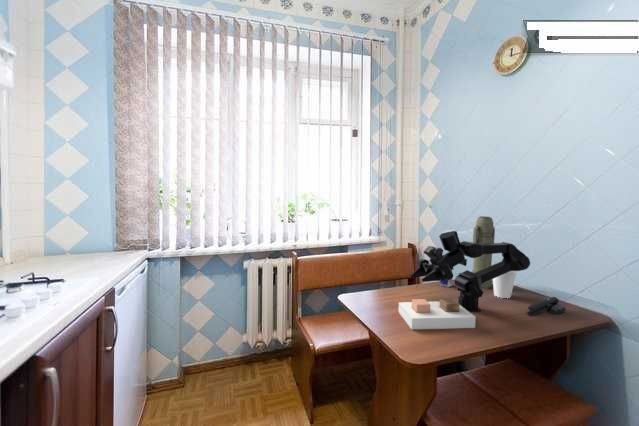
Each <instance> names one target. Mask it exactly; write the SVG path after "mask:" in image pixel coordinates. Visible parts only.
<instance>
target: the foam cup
mask: <svg viewBox="0 0 639 426" xmlns="http://www.w3.org/2000/svg"><path fill="white" fill-rule="evenodd" d="M517 272H518V271H510V272H507V273H505V274H503V275H500V276H498V277H496V278H494V279H492V286H493V288H492V289H493V295H494V297H496V296H497V298H499V297H500V298H499V299H503V298H507V300H508V298H509V299H510V297H511V296H512V293H513V288H514V285H515V279H516V276H517Z"/></svg>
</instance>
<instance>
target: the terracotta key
mask: <svg viewBox="0 0 639 426" xmlns="http://www.w3.org/2000/svg"><path fill="white" fill-rule="evenodd" d="M411 302H412V309H413V310H414V311H415V312H416V313H430V304H429V303H428V302H429V301H427V299H425V298H422V299H421V298H417V299H414V298H413V299H411Z"/></svg>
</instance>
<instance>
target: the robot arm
mask: <svg viewBox="0 0 639 426" xmlns="http://www.w3.org/2000/svg"><path fill="white" fill-rule="evenodd" d="M438 237H439V240H440V242H441V245H442V247H435V246H432V245H428V246H427V247H426V248H425V249H424V250H423V253H424V255H426V256H427V257H428V258H429V260H428V259H424V258H421V259H419V260H418V261H417V265H418V266H417V268H416V269H415V270H414V271H413V272H412V273H411V274H410V279H417V278H420V277H421V281H422V282H423V283H426V282H440V281H445V280H448V281H449V280H450V279H452V280H453V278H454V273H453V270H454V267H456V266H458V265H462V266H464V267H467V264H468V259H466V257H468V258H470V259H474V258H477V257H480V256H482V255H484V254H492V255H493V254H501V256H502V257H503V258H502V259H501V261H499V262H496V263H494V264H491V266H490V267H487V268H485V269H483V270H480V271H478V272H476V273H473V272H472V271H470V270H468V269H467V270H465V271H463V272H459V273H458V275H456V276H455V279H454V285H455V288H456V289H457V291H458V292H459V295H458V301H457V302H458V303H459V304H460V305H461V306H462V307H463V308H465V309H466V310H467V311H468V312H481V309H480V308H479V298H482V296H483V294H484V291H483V290H482V288H480V287H481V285H482V283H485V282H487V281H489V280H491V279H492V280H493V279H494V278H496V277H498V276H500V275H503V274H505V273H507V272H510V271H517V272H520V271H524V270H527V269H529V267H531V261H530V258H529V257H528V256H527V255H526V254H525V253H523V252H522V251H521V250H520V249H518V248H517V246H516V245H515V244H513V243H509V242H505V241H502V242H494V243H486V244H478V243H473V241H466V240H465V241H464V240H463V241H460V239H459V234H458V232H457V231H456V230H452V231H447V232H443V233H441V234H439V236H438ZM443 249H444V250H443ZM444 251H447V253H444ZM443 253H444V254H443ZM465 256H466V257H465ZM451 270H452V271H451Z"/></svg>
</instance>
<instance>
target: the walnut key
mask: <svg viewBox="0 0 639 426" xmlns="http://www.w3.org/2000/svg"><path fill="white" fill-rule="evenodd" d="M439 302H440V308H441V309H442V310H444V311H445V312H459V306H460V304H459V303H458V301H457V300H456V299H454V298H440V299H439Z"/></svg>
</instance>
